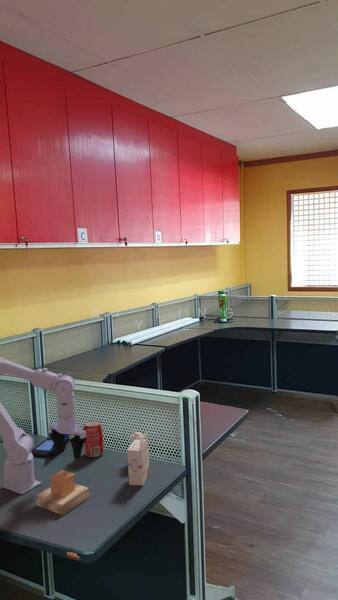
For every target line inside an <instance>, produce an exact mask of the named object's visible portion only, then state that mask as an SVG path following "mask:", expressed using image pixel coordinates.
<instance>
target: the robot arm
mask: <svg viewBox="0 0 338 600" xmlns="http://www.w3.org/2000/svg"><path fill="white" fill-rule="evenodd" d="M1 375H9V376H13V377H16V378H20V379H24V380H26V381H30V383H31V384H32V387H34V388H35V387H36V388H37V389H41V390H45V391H46V392H47V391H48V392H51V393H53V394H55V396H56V416H57V418H56V419H57V423H56V422H53V423H51V424H49V426H48V427H49V431H51V432H50V433H49V434H48V436H49V437H50V438H51V439H52V441H53V443H54V445H55V448H56V451H57V452H56V453H57V455H60V454H63V453H64V450H65V445H64V436H65V434H69V435H70V436H73V437H72V438H69V442H70V444H71V447H72V453H73V454H72V455H73V459H74V460H78V459H80V458H81V456H82V451H83V448H84V442H85V440H86V438H87V435H86V431H85V430H83V429H82V428H81V427H80V426H79V424H78V423H77V424H76V421H77V418H76V417H77V415H76V413H77V412H76V399H75V391H74V389H75V387H76V381H75V379H74V378H73V377H72V376H70V375H69V374H62V373H58V374H57V373H55V372H52V371H48V368H46V367H43V368H38V369H35V370H33V369H31V368H29V367H26V366H24V365H21V364H18V363H17V362H14V361H11V360H9V359H6V358H4V357H2V356H0V376H1ZM0 436H1V438H2V442H3V449H4V450H5V453H6V458H7V459H6V460H5V462H4V465H3V477H4V484H3V485H2V488H4V489H7V490H9V491H11V492H14V493H17V494H20V495H24V494H25V493H27V492H29V491H30V490H32V489H35V488H36V487H37V486H39V485H41V484H42V481H39V480H36V479H35V478H36V476H35V465H34V464H35V463H34V461H35V460H34V456H33V455H32V453H31V451H32V450H33V449H34V448H35V447H34V446H35V440H34V439H33V437H32V436H31V435H29V434H27V433H26V432H25V430H24V429H23V428H20V427H18V425H16V423H15V421H14V420H13V419H12V417H11V415H10V414H9V412H8V411H7V410H6V408H5V406H4V404H2V402H1V401H0ZM49 437H48V438H49Z"/></svg>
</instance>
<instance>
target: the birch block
mask: <svg viewBox="0 0 338 600" xmlns="http://www.w3.org/2000/svg"><path fill="white" fill-rule="evenodd" d="M88 499H90V487H88V486H84V485H81V484H77V483H75V490H74V491H73V492H71V493H69V494H67V495H66V496H64V497H60V496H57V495H55V494H52V493H51V487H48V488H46V489H44V490H43V491H41V492H39V493H37V494H36V495H35V501H36V502H35V504H36V506H38V507H40V508H42V509H43V508H44V509H45V510H48V511H51V512H54V513H56V514H58V515H61V516H64V515H66V514H67V513H68V512H71V511H72V510H73V509H74V508H76V507H77V506H79V505H81V504H82V503H84V502H85V501H87V500H88Z"/></svg>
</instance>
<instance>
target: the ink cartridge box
mask: <svg viewBox="0 0 338 600" xmlns="http://www.w3.org/2000/svg"><path fill="white" fill-rule="evenodd" d="M126 452H127V467H128V468H127V471H128V485H129V486H137V487H138V486H139V487H141V486H142V487H143V486H144V485H145V483H146V481H147V479H148V477H149V475H150V454H149V453H150V452H149V438H148V432H147V431H146V432H145V433H144V434H143V437H142V439H141V440H134V441H133V440H132V443H131V444H130V445H129V447H128V448H127V449H126Z"/></svg>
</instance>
